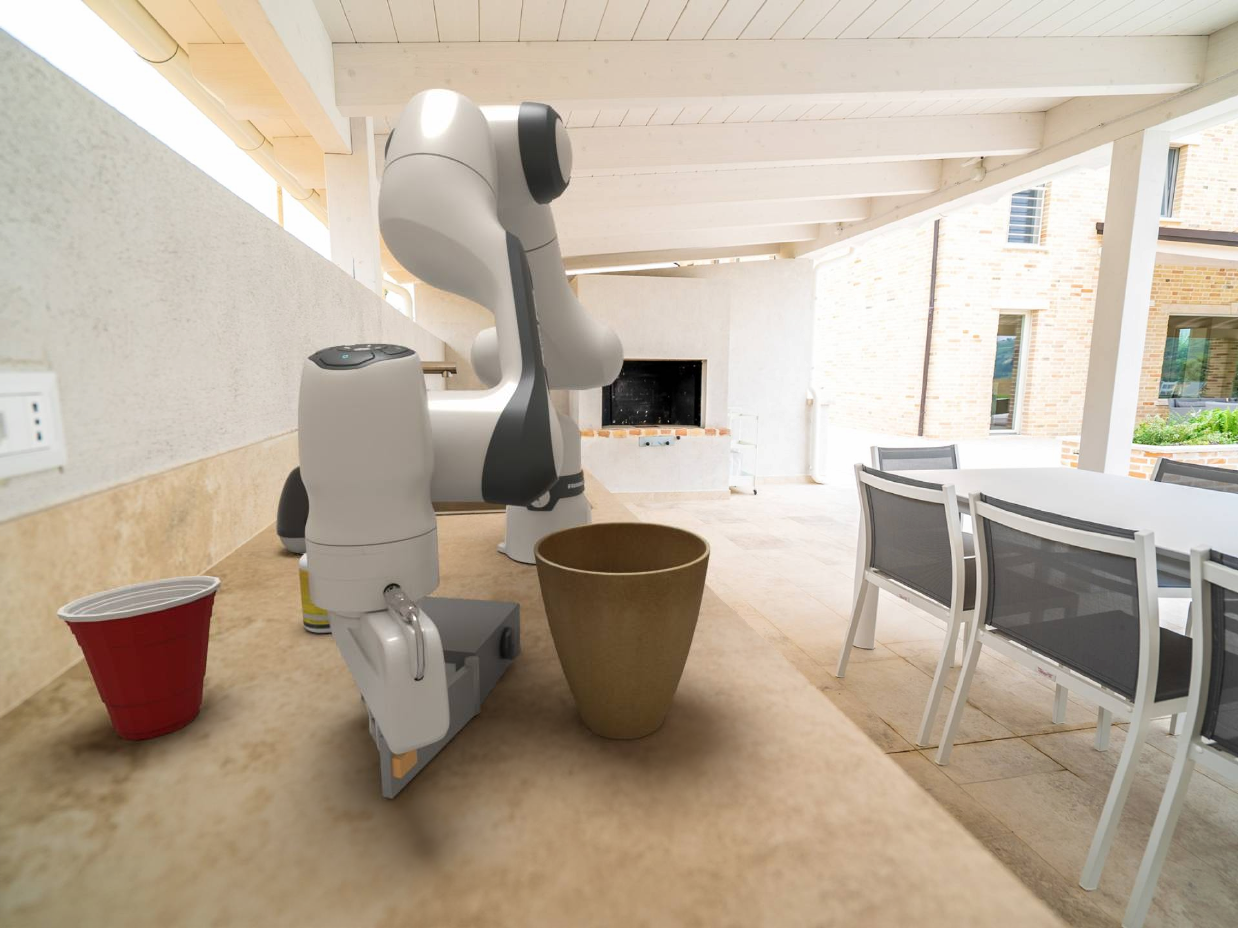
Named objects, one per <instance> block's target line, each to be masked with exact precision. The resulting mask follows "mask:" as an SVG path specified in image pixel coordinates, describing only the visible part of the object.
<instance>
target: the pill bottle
mask: <svg viewBox="0 0 1238 928" xmlns="http://www.w3.org/2000/svg"><path fill="white" fill-rule="evenodd" d="M305 543H306V541H305ZM298 576H299V585H300V599H301V600H300V601H301V609H302V621H303V622H302V623H303V627H304V628H305V629H306V630H307V631H309V632H313V633H318V634H319V633H320V634H326V633H332V632H331V628H330V624H329V619H328V614H327V610H324V609H321V608H319V607H317V606H315V605H314V604H313V603H312V602H311V600H310V592H309V579H308V567H307V554H306V553H305V554H302V556H301V557H300V559H299V562H298Z"/></svg>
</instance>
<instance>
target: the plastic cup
mask: <svg viewBox="0 0 1238 928" xmlns="http://www.w3.org/2000/svg"><path fill="white" fill-rule="evenodd" d="M220 587H221V580H220V578H219V577H216V576H211V575H210V576H209V575H194V576H193V575H191V576H189V575H188V576H178V577H171V578H161V579H156V580H150V581H144V582H139V583H133V584H128V585H124V586H120V587H116V588H112V589H107V590H104V591H100V592H97V593H94V594H89V595H87V596H84V597H81V598H77V599H75V600H73V601H71V602H69V603H66V604H65V605H63V606H60V607H59V609H58V611H57V612H56V616H57V617H58V619H59V620H63V621H64V623H66V625H67V627H69V629H70V632H71V633H72V635H74V637H75V640H76V642H77V645H78V646H79V647H80V648H81V651H82V653H83V656H84V659H85V661H86V664H87V667H88V669H89V671H90V674H91V677H92V680H93V681H94V685H95V687H96V689H97V693H98V694H99V696H100V700H101V702H102V703H103V704H104V706H105V708H106V710H107V713H108V716H109V719H110V722H111V724H112V727H113V729H114V730H115V731H116V733H117V735H118V736H119V737H120V738H122V739H124V740H132V741H138V740H146V739H152V738H156V737H159V736H160V737H161V736H163V735H166V734H169V733H172V732H174V731H176V730H179V729H180V728H183V727H185V726H186V725H187V724H189V723H190V722H192V721H193V720H195V719H196V717H197V716H198V714H199V713H200V711H201V706H202V704H203V703H202V702H203V695H204V694H203V693H204V680H205V677H206V671H207V661H208V651H209V639H210V629H211V619H212V617H213V606H214V605H215V597H216V595H217V590H218V589H219V588H220Z"/></svg>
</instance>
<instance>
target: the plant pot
mask: <svg viewBox="0 0 1238 928" xmlns="http://www.w3.org/2000/svg"><path fill="white" fill-rule="evenodd" d="M534 555H535V561H536V564H535V565H536V571H537V576H538V577H537V578H538V581H539V587H540V593H541V596H542V603H543V607H544V611H545V615H546V618H547V624H548V627H549V631H550V635H551V638H552V641H553V644H554V648H555V651H556V655H557V657H558V660H559V663H560V666H561V671H562V672H563V675H564V678H565V681H566V683H567V686H568V688H569V691H570V693H571V696H572V698H573V700H574V704H575V705H576V708H577V710H578V712H579V714H580V717H581V719H582V721H583V724H584V725H585V726H586V727H587V728H588V730H590V731H592V732H593V733H594V734H596V735H598V736H601V737H604V738H608V739H613V740H633V739H640V738H642V737H645V736H648V735H650V734H652V733H654V732H655V731H656V730H658V729H659V728H660V727H661V726H662V724H663V723H664V721H665V718H666V716H667V714H668V712H669V709H670V707H671V704H672V702H673V700H674V697H675V695H676V693H677V689H678V686H679V684H680V680H681V678H682V676H683V672H684V669H685V666H686V663H687V660H688V657H689V654H690V651H691V646H692V644H693V640H694V636H695V631H696V627H697V623H698V618H699V615H700V609H701V607H702V606H701V604H702V602H703V601H702V600H703V595H704V589H705V584H706V578H707V573H708V566H709V560H710V555H711V545H710V542H708V540H707V539H705V538H704V537H703V536H701V535H700V534H698V533H696V532H695V531H691V530H689V529H685V528H683V527H679V526H674V525H670V524H661V523H656V522H655V523H654V522H642V521H606V522H595V523H593V522H592V524H585V525H579V526H574V527H570V528H566V529H562V530H558V531H556V532H553V533H550V534H548V535H546V536H544V537H543V538H541V539H540V540H539V541H538V542H537V543H536V544H535V546H534Z"/></svg>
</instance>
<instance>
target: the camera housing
mask: <svg viewBox="0 0 1238 928" xmlns="http://www.w3.org/2000/svg"><path fill="white" fill-rule="evenodd" d="M520 609H521V607H520V602H518V601H504V600H503V601H502V600H501V601H500V600H488V599H487V600H486V599H473V598H472V599H470V598H456V597H442V596H441V597H440V596H426V597H424V598H423V608H422V609H421V610H422V611H423V612H424V613H425V614H426V615H427V616H428V617H429V618H430V619H431V620H432V621H433V623H434V624H435V626H436V628H437V630H438V632H439V635H440V639H441V643H442V648H443V654H444V661H445V671H446V680H447V679H449V678H450V677H451V676H452V675H453V674H455V673H456V672H457V671H458V670H459V669H461V668H462V667H463V666H464V665H465V658H466V657H468V656H477V657H478V658H479V684H480V706H481V705H482V704H483V703H484V701H485V700H486V699H487V697H488V695H490V693H491V692H492V690H493V689H494V687H495V686H496V685H497V683H498V682H499V680H500V679H501V677H502V676H503V675H504V673H505V672H506V671H507V669H508V668H509V667H510V665H511V664H512V662H513V661H514V660H516V658H517V656H518V654H519V653H520V651H521V648H522V647H521V617H520V616H521V614H520ZM360 696H361V697H360V698H361V699H362V700H364V698H363V696H362V694H361V693H360Z"/></svg>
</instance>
